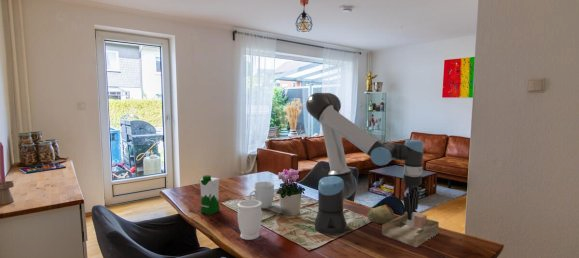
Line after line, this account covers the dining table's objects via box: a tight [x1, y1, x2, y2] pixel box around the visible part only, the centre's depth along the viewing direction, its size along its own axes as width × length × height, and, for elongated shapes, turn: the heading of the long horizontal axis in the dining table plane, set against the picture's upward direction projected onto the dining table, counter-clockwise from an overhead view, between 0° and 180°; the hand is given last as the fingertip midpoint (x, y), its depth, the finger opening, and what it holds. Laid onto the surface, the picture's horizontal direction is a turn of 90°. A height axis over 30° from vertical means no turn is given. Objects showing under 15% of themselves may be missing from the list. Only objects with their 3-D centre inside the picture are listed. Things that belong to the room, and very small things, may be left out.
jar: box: [236, 199, 263, 241], centre depth 135 cm, size 11×10×15 cm
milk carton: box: [198, 175, 221, 216], centre depth 164 cm, size 9×9×20 cm
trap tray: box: [381, 211, 440, 248], centre depth 137 cm, size 16×20×6 cm
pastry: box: [367, 204, 397, 225], centre depth 153 cm, size 14×12×8 cm
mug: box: [248, 181, 275, 209], centre depth 172 cm, size 15×11×13 cm
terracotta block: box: [414, 211, 428, 228], centre depth 141 cm, size 5×5×5 cm
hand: (410, 226), depth 138 cm, fingers closed
